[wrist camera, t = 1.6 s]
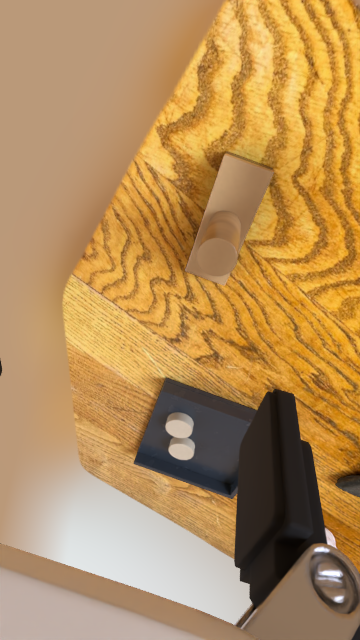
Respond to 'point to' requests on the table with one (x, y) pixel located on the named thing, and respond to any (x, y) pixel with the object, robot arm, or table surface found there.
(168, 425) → the disc
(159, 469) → the tray
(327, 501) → the table surface
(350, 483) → the tool
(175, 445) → the disc
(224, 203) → the brush
